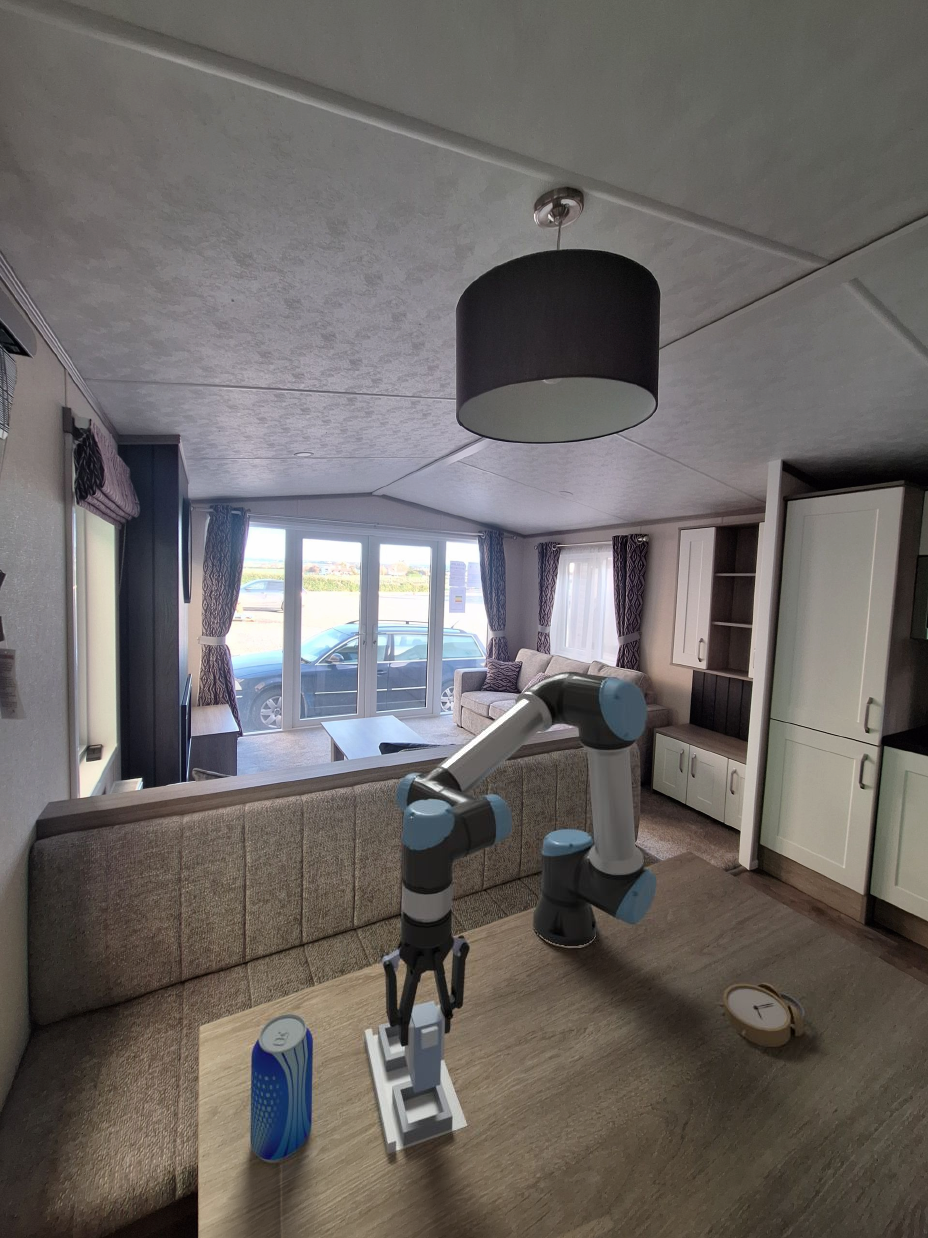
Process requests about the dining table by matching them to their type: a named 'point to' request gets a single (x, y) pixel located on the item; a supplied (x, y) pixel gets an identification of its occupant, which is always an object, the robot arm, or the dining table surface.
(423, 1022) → the plug
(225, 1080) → the dining table surface
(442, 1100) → the panel
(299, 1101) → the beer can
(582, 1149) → the dining table surface
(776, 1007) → the alarm clock
